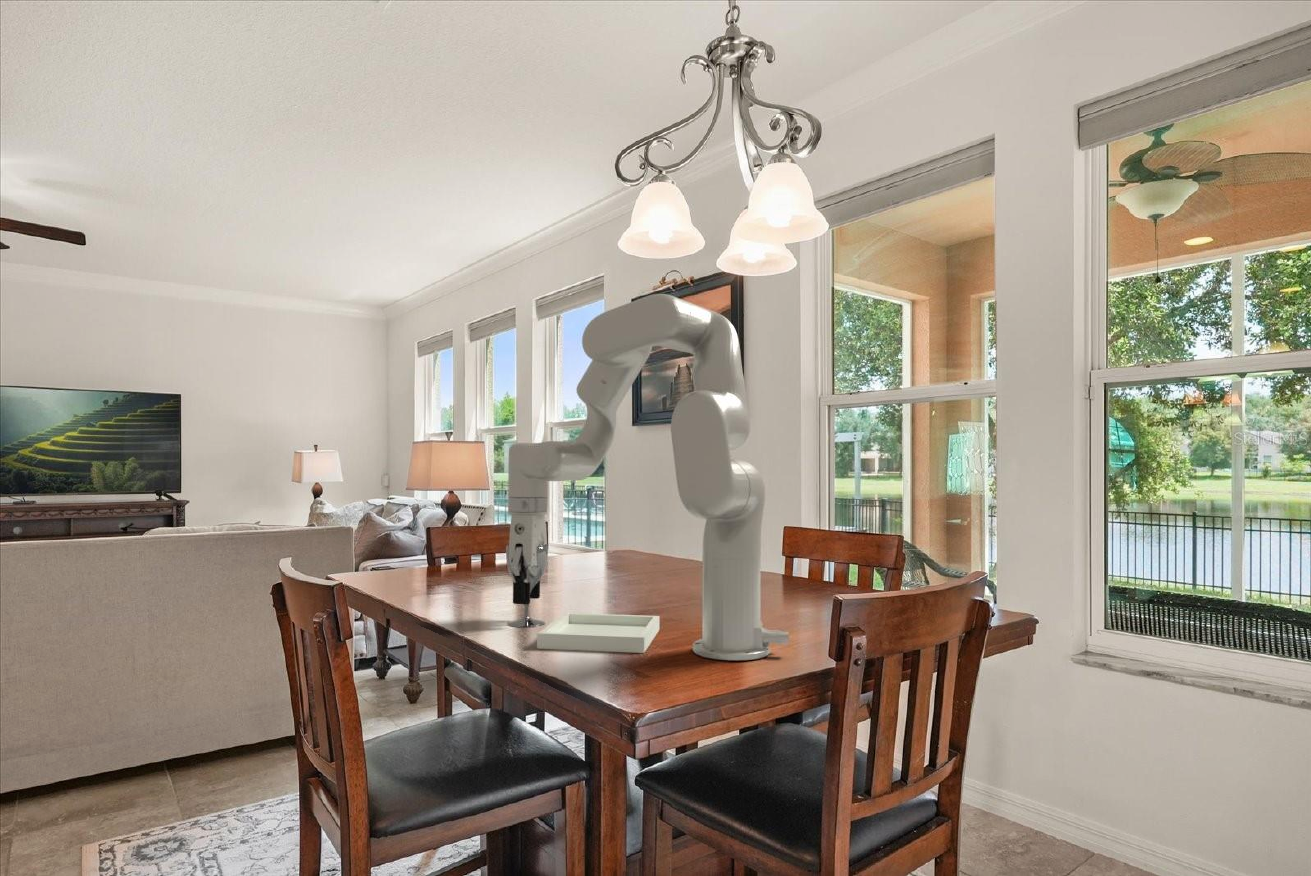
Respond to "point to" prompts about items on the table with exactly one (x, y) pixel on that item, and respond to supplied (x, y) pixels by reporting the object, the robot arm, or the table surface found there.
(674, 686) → the table surface
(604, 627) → the tray
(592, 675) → the table surface
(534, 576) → the wine glass
